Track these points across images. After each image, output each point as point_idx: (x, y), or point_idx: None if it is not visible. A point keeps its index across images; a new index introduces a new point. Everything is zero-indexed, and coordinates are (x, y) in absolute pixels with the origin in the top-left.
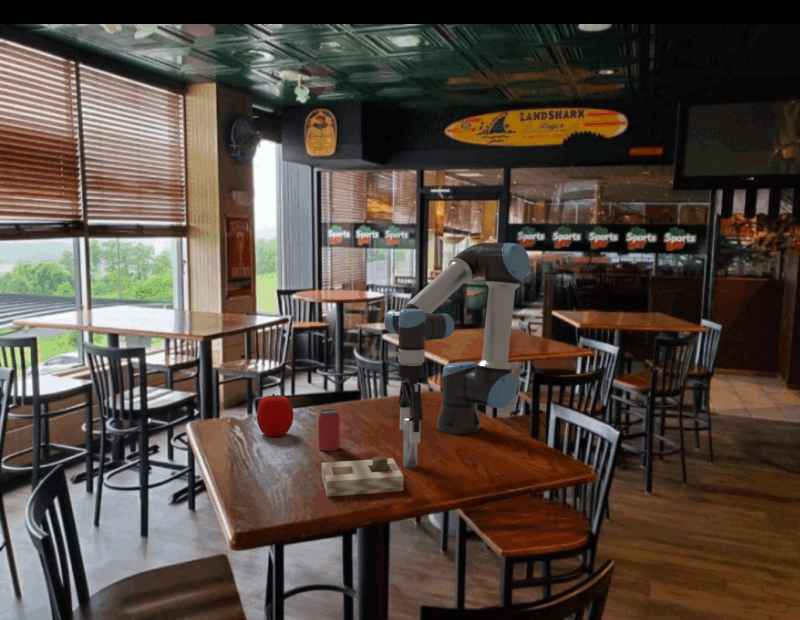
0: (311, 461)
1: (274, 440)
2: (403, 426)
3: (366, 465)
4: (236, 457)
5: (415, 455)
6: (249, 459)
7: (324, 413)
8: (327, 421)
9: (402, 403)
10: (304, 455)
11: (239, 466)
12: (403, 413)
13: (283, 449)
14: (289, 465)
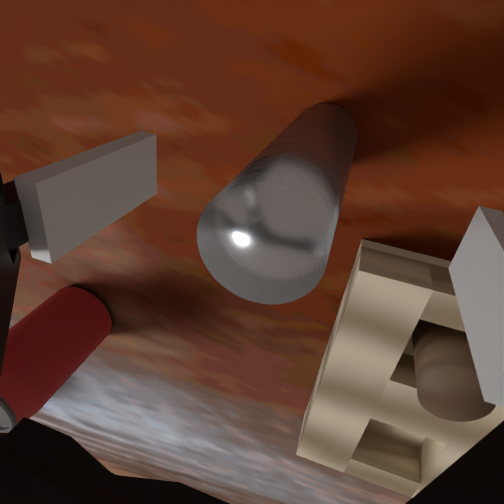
0: (181, 383)
1: None
2: (145, 179)
3: (389, 384)
4: (129, 464)
5: (350, 137)
6: (144, 456)
7: (10, 430)
8: (42, 403)
9: (13, 277)
10: (134, 376)
11: (180, 481)
12: (82, 217)
13: (87, 390)
14: (197, 426)
